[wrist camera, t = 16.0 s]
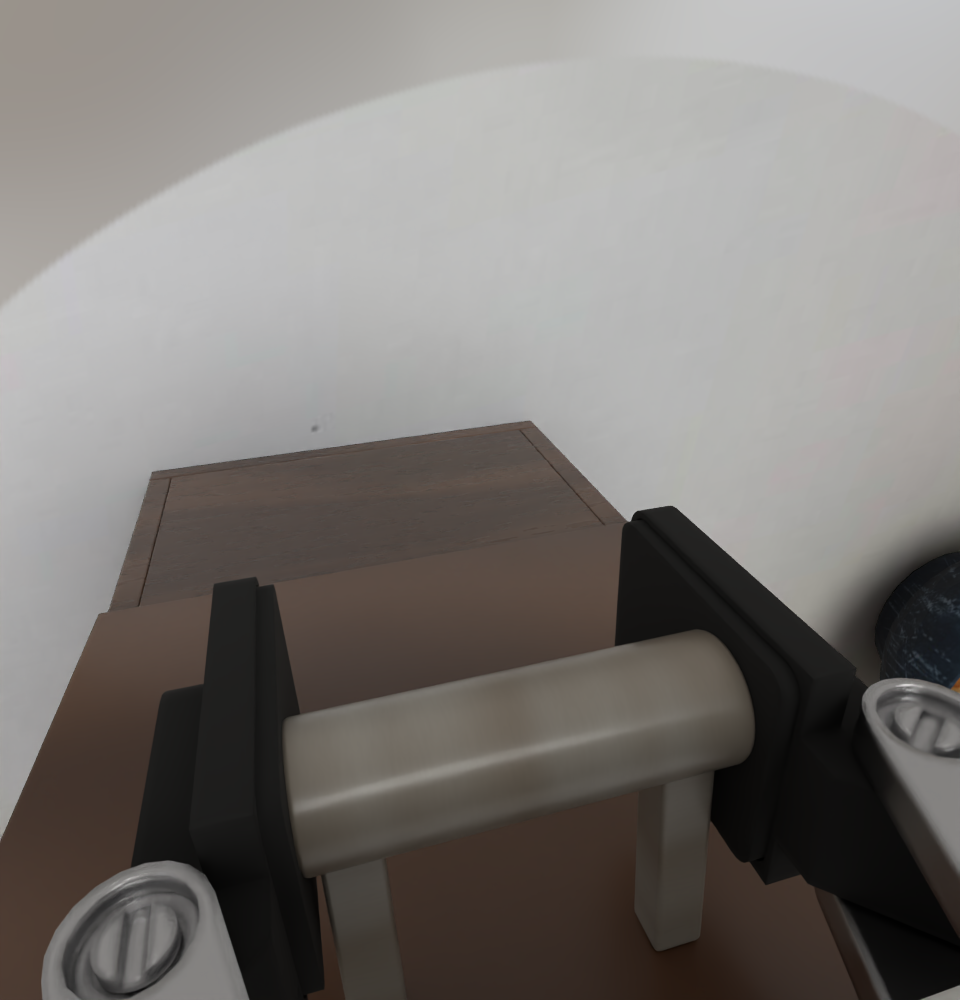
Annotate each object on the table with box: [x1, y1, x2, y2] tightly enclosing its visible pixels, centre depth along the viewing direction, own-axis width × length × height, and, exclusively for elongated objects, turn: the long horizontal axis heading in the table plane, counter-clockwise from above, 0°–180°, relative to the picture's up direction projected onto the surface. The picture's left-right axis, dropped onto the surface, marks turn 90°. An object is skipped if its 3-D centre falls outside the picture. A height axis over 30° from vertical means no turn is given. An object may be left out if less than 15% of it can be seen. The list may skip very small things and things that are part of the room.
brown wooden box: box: [108, 421, 627, 612], centre depth 29 cm, size 14×16×10 cm
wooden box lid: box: [0, 521, 859, 1000], centre depth 13 cm, size 14×16×5 cm
